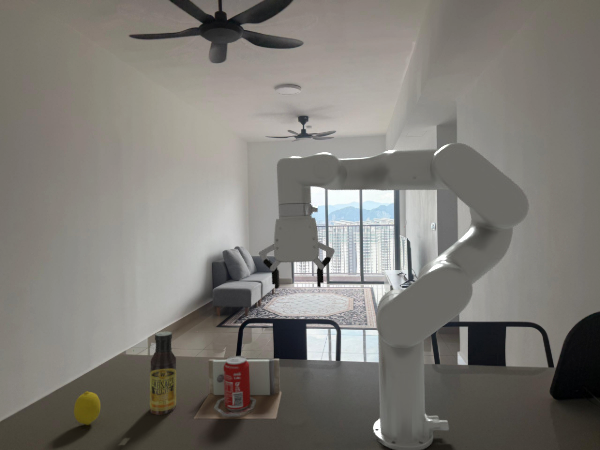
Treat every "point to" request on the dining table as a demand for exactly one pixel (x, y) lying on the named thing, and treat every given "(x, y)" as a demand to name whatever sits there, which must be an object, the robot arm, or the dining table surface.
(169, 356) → the sauce bottle
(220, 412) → the grey octagonal ring
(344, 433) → the dining table surface
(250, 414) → the base
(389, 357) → the robot arm
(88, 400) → the lemon
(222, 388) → the door
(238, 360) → the beverage can
